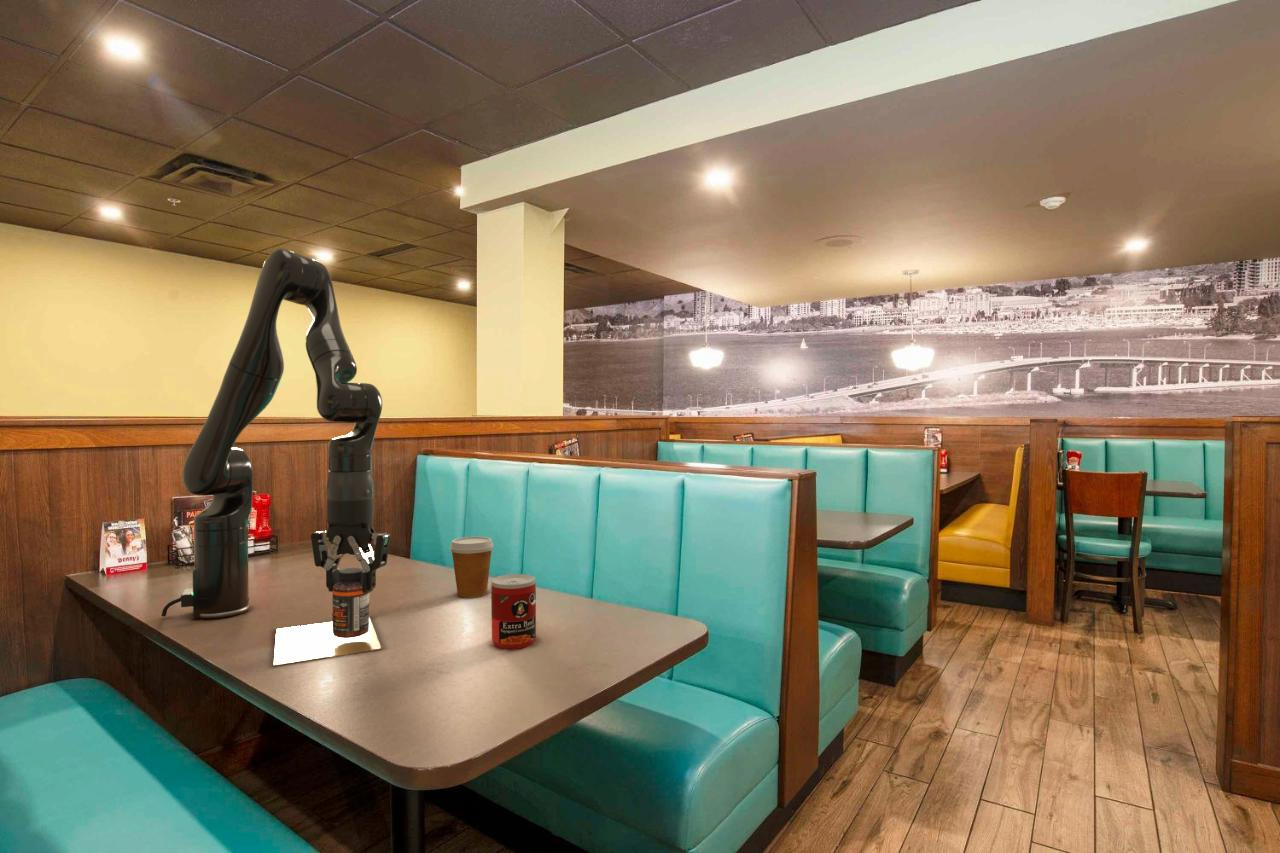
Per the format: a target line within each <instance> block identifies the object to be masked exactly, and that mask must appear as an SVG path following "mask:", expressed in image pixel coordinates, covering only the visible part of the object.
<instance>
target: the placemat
mask: <svg viewBox="0 0 1280 853" xmlns="http://www.w3.org/2000/svg"><path fill="white" fill-rule="evenodd" d="M332 625H333V621H328V622H322V623H320V622H319V623H313V624H307V625H306V624H305V625H301V626H300V625H297V626H291V627H290V626H289V627H283V628H277V629H276V633H275V642H274V643H275V644H274V655H273V656H274V657H273V667H277V666H284V665H289V664H290V665H291V664H296V663H303V662H308V661H309V662H310V661H317V660H321V659H322V660H323V659H330V658H335V657H341V656H349V655H354V654H362V653H366V652H374V651H379V650H382V646H381V644H380V641H379V638H378V636H377V634H376V631H375V628H374V625H373V622H372V620H371V617H370V616H369V630H368V632H367V633H365V634H364V635H361V636H358V637H353V638H338V637H336V636H334V635H333V629H332Z"/></svg>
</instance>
